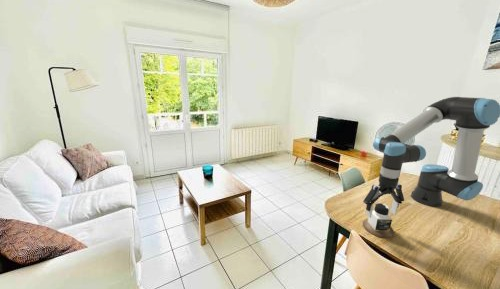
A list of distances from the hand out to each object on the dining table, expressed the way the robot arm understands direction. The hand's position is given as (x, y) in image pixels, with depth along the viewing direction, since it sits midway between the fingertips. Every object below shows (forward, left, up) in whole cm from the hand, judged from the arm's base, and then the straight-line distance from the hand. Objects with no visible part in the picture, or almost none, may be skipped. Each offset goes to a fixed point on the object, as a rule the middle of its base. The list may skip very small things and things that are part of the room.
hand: (380, 214), depth 102 cm
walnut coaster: (0, 0, -8) cm, 8 cm away
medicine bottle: (0, 0, -7) cm, 7 cm away
